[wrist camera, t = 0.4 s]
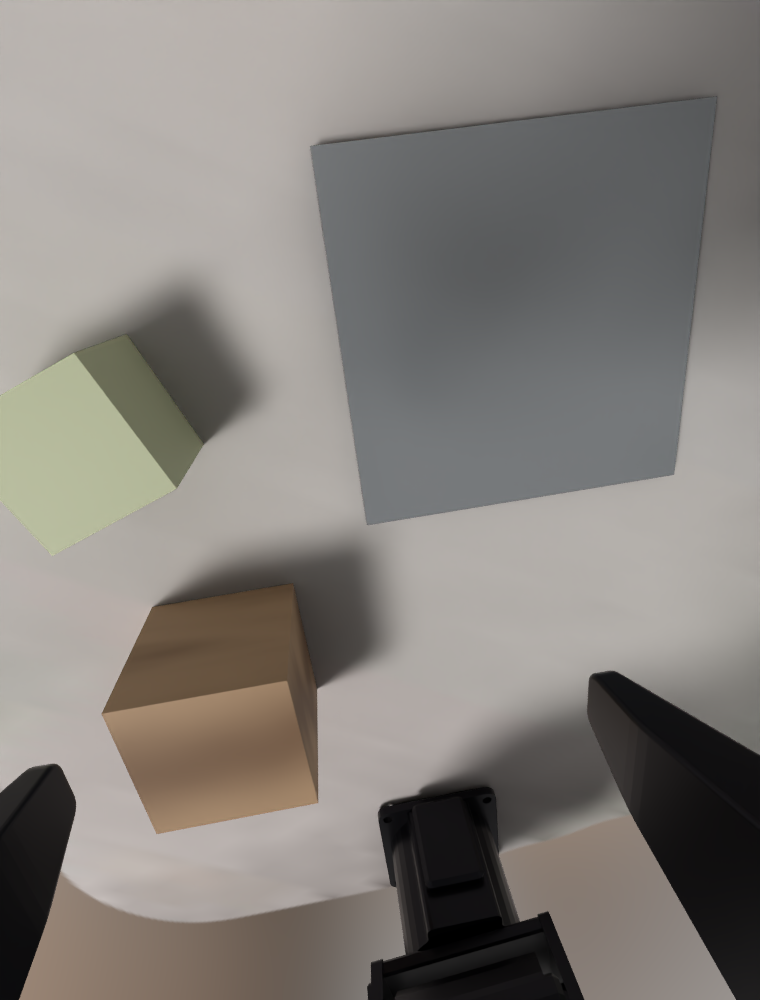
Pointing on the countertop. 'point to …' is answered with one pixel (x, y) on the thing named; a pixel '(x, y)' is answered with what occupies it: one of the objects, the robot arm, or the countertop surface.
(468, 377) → the slate coaster
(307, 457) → the countertop surface
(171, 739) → the walnut cube
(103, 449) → the olive block
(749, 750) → the robot arm
